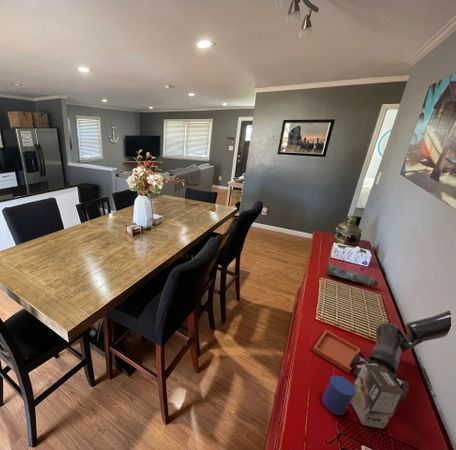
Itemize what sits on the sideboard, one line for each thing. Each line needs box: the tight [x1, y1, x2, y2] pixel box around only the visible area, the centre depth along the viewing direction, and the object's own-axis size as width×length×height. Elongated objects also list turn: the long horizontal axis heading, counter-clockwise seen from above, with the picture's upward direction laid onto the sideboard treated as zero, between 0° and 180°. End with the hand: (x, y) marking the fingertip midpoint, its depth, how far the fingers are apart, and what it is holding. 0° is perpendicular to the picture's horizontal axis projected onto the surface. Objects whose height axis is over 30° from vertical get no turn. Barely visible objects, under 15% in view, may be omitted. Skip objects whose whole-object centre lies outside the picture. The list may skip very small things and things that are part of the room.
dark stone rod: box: [325, 263, 379, 287], centre depth 145 cm, size 13×7×25 cm
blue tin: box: [321, 374, 355, 416], centre depth 77 cm, size 6×6×10 cm
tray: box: [312, 329, 361, 374], centre depth 98 cm, size 13×15×2 cm
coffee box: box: [350, 364, 407, 430], centre depth 75 cm, size 9×6×16 cm
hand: (372, 388), depth 76 cm, fingers open, 8 cm apart
